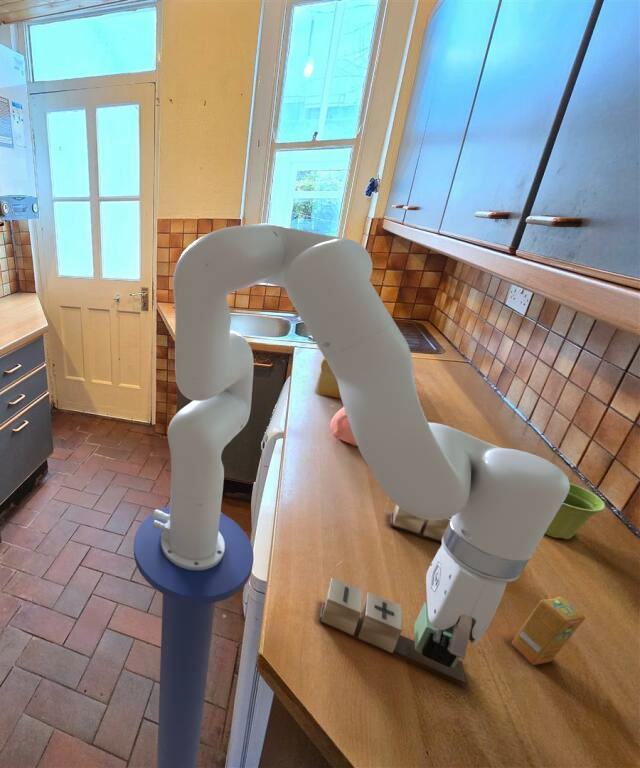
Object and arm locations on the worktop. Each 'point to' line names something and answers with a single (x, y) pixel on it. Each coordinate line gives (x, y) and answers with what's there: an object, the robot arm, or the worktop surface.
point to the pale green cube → (426, 631)
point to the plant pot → (574, 512)
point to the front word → (378, 626)
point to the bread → (327, 381)
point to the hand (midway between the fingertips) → (434, 642)
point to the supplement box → (547, 630)
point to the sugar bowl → (342, 427)
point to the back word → (419, 525)
